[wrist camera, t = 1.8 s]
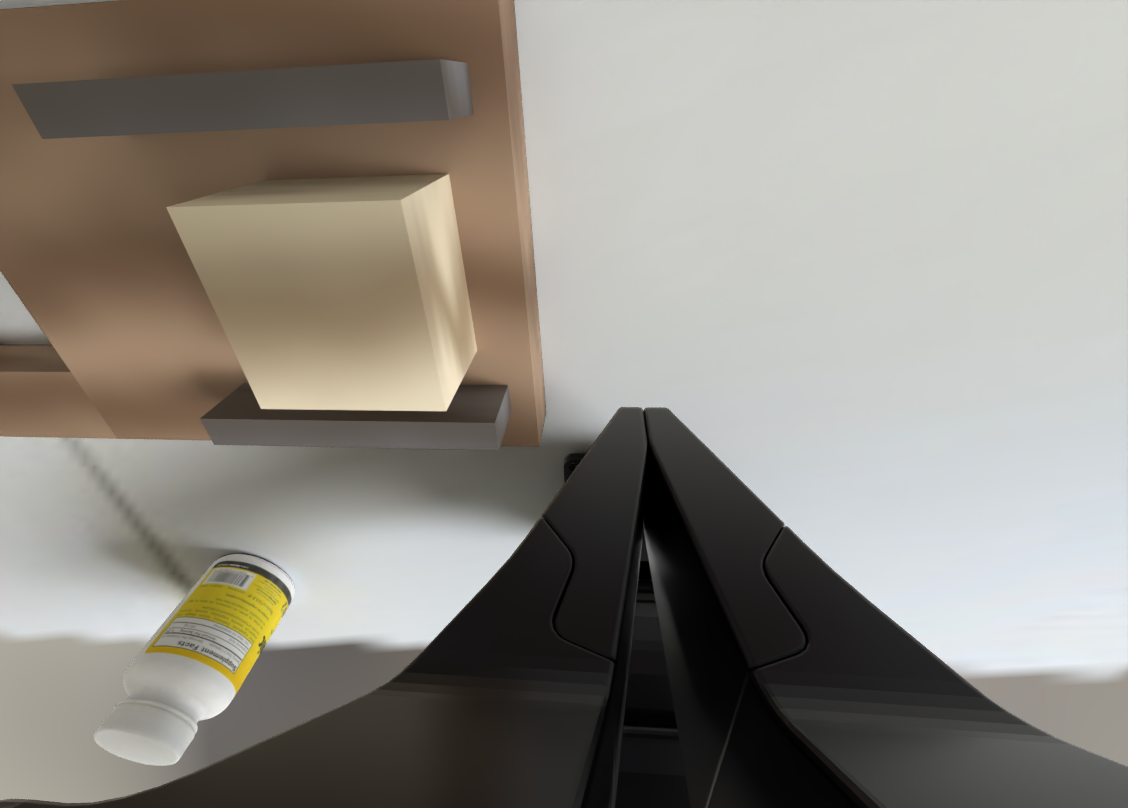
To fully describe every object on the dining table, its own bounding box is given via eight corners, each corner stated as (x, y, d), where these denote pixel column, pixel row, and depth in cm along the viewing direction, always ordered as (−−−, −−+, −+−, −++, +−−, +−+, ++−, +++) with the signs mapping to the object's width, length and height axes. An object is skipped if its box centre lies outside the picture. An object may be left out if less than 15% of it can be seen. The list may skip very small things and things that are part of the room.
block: (477, 350, 18) (446, 411, 15) (324, 350, 18) (260, 409, 15) (448, 173, 15) (400, 200, 11) (264, 180, 15) (166, 207, 12)
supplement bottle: (265, 611, 34) (154, 778, 26) (198, 566, 31) (53, 734, 23) (315, 590, 32) (213, 763, 24) (247, 540, 30) (108, 713, 21)
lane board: (546, 412, 22) (530, 487, 18) (18, 406, 25) (-101, 470, 21) (513, -13, 14) (470, -52, 10) (-272, 45, 17) (-566, 32, 13)
